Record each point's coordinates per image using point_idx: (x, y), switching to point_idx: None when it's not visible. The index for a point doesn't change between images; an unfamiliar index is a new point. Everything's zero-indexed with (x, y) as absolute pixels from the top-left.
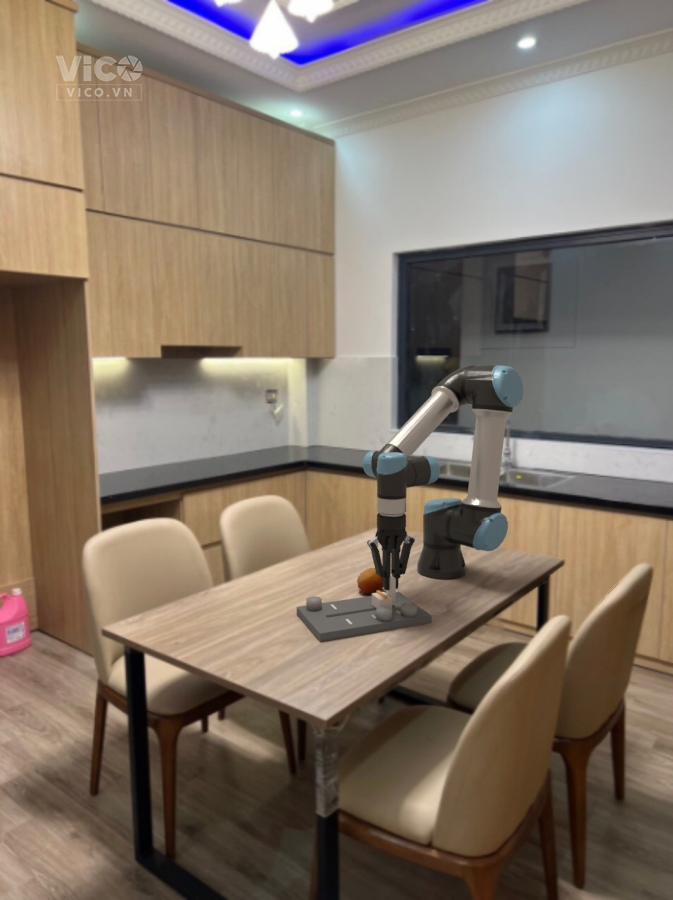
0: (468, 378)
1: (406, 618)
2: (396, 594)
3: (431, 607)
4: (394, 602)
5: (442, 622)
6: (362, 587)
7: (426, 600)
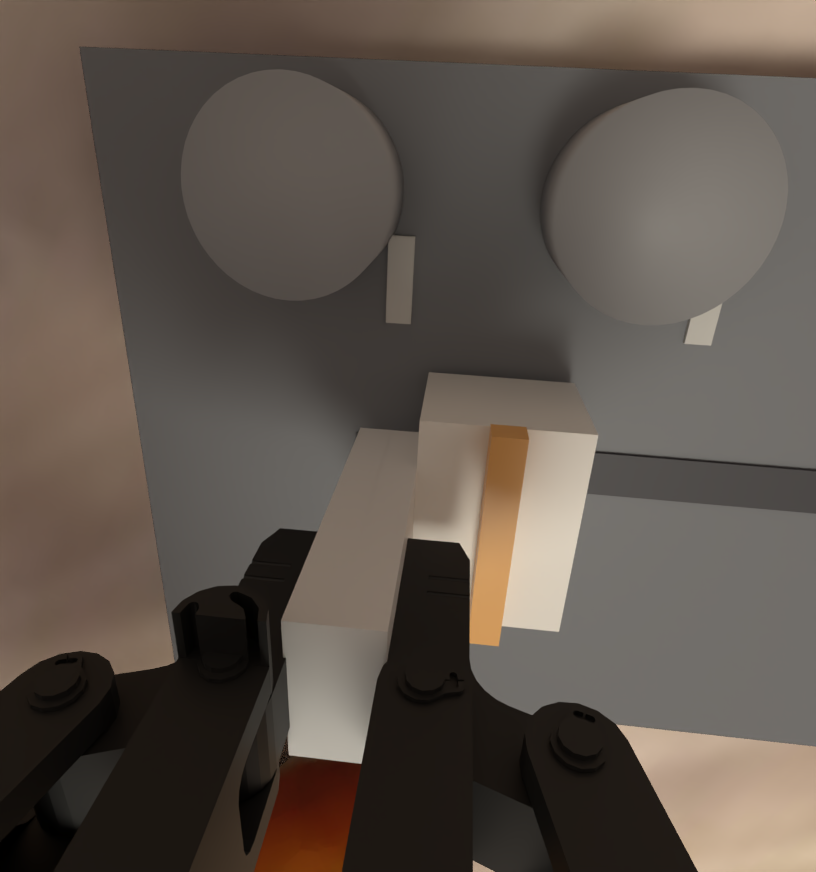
0: None
1: (400, 82)
2: None
3: (9, 391)
4: (370, 429)
5: (10, 11)
6: None
7: (8, 523)
